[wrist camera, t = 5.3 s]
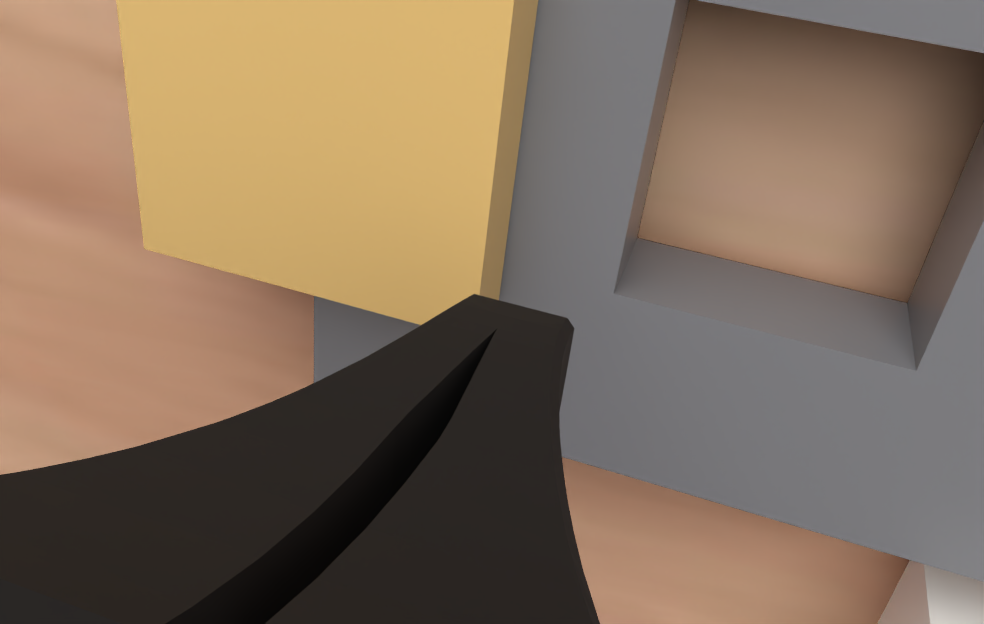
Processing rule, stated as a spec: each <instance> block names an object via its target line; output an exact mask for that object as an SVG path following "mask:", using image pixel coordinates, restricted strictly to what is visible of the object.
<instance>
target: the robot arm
mask: <svg viewBox="0 0 984 624" xmlns="http://www.w3.org/2000/svg"><path fill="white" fill-rule="evenodd" d="M574 329H575V328H574V327H573V325H572V324H571V322H570V321H569V319H568V318H566V317H562V316H558V315H554V314H550V313H547V312H543V311H539V310H535V309H531V308H527V307H523V306H519V305H515V304H512V303H508V302H504V301H500V300H496V299H492V298H488V297H484V296H480V295H477V294H473V295H471V296H469V297H467V298H466V299H464V300H462V301H460V302H459V303H457V304H455V305H454V306H452V307H450V308H448V309H447V310H445V311H443V312H442V313H440V314H438V315H437V316H435V317H434V318H432V319H430V320H429V321H427V322H425V323H424V324H422V325H420V326H419V327H417V328H415V329H414V330H412V331H410V332H409V333H407V334H405V335H404V336H402V337H400V338H398V339H397V340H395V341H393V342H391V343H390V344H388V345H386V346H384V347H383V348H381V349H379V350H377V351H375V352H374V353H372V354H370V355H368V356H367V357H365V358H363V359H361V360H359V361H357V362H355V363H353V364H351V365H349V366H347V367H345V368H343V369H341V370H339V371H337V372H335V373H333V374H331V375H329V376H327V377H325V378H323V379H321V380H319V381H317V382H315V383H313V384H311V385H309V386H307V387H305V388H303V389H301V390H298V391H296V392H294V393H292V394H289V395H287V396H285V397H282V398H280V399H277V400H275V401H273V402H270V403H268V404H265V405H263V406H260V407H257V408H255V409H252V410H249V411H247V412H244V413H242V414H239V415H236V416H234V417H231V418H228V419H225V420H222V421H220V422H217V423H214V424H210V425H207V426H204V427H200V428H197V429H194V430H190V431H187V432H184V433H181V434H177V435H174V436H171V437H167V438H164V439H161V440H157V441H154V442H151V443H147V444H144V445H141V446H137V447H133V448H129V449H125V450H121V451H117V452H112V453H108V454H104V455H100V456H96V457H92V458H87V459H82V460H77V461H73V462H68V463H63V464H58V465H53V466H48V467H44V468H38V469H32V470H27V471H21V472H16V473H10V474H3V475H0V624H600V623H599V620H598V616H597V613H596V610H595V607H594V604H593V600H592V597H591V594H590V591H589V588H588V585H587V581H586V578H585V575H584V572H583V568H582V565H581V560H580V556H579V552H578V548H577V544H576V540H575V535H574V531H573V526H572V521H571V516H570V511H569V506H568V500H567V494H566V487H565V480H564V473H563V463H562V453H561V442H560V417H559V412H560V406H561V401H562V395H563V390H564V384H565V379H566V373H567V368H568V362H569V356H570V351H571V345H572V340H573V334H574Z"/></svg>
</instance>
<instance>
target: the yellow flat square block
mask: <svg viewBox="0 0 984 624" xmlns="http://www.w3.org/2000/svg"><path fill="white" fill-rule="evenodd" d="M116 3H117V12H118V21H119V29H120V38H121V47H122V56H123V65H124V74H125V83H126V92H127V101H128V109H129V118H130V127H131V136H132V145H133V154H134V163H135V172H136V181H137V189H138V198H139V207H140V216H141V225H142V234H143V243H144V249H146V250H150V251H154V252H157V253H161V254H165V255H168V256H172V257H175V258H179V259H183V260H186V261H190V262H194V263H197V264H201V265H205V266H208V267H212V268H215V269H219V270H223V271H226V272H230V273H234V274H237V275H241V276H245V277H248V278H252V279H255V280H259V281H263V282H266V283H270V284H274V285H277V286H281V287H285V288H288V289H292V290H295V291H299V292H303V293H306V294H310V295H314V296H317V297H321V298H325V299H328V300H332V301H335V302H339V303H343V304H346V305H350V306H354V307H357V308H361V309H364V310H368V311H372V312H375V313H379V314H383V315H386V316H390V317H394V318H397V319H401V320H404V321H408V322H412V323H415V324H419V325H422V324H424V323H425V322H427V321H429V320H430V319H432V318H434V317H435V316H437V315H438V314H440V313H442V312H443V311H445V310H447V309H448V308H450V307H452V306H454V305H455V304H457V303H459V302H460V301H462V300H464V299H466V298H467V297H469V296H471V295H473V294H477V295H480V296H484V297H488V298H492V299H496V300H499V295H500V287H501V280H502V272H503V264H504V257H505V249H506V242H507V234H508V226H509V219H510V211H511V204H512V196H513V188H514V181H515V173H516V166H517V158H518V151H519V143H520V135H521V128H522V120H523V113H524V105H525V97H526V90H527V82H528V75H529V67H530V59H531V52H532V44H533V37H534V29H535V21H536V14H537V6H538V0H116Z"/></svg>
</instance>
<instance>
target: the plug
mask: <svg viewBox="0 0 984 624" xmlns="http://www.w3.org/2000/svg"><path fill="white" fill-rule="evenodd" d="M877 624H984V582H982V581H979V580H976V579H972V578H969V577H965V576H962V575H959V574H955V573H952V572H949V571H945V570H942V569H938V568H935V567H932V566H928V565H925V564H922V563H918V562H915V561H912V560H910V561H909V563H908V565H907V567H906V568H905V570H904V572H903V574H902V576H901V578H900V580H899V582H898V584H897V586H896V588H895V590H894V592H893V594H892V596H891V598H890V600H889V602H888V604H887V606H886V608H885V609H884V611H883V613H882V615H881V617H880V619H879V621H878V623H877Z"/></svg>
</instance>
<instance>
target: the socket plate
mask: <svg viewBox="0 0 984 624" xmlns="http://www.w3.org/2000/svg"><path fill="white" fill-rule="evenodd" d="M698 1H704V2H709V3H715V4H720V5H725V6H731V7H736V8H742V9H747V10H752V11H758V12H763V13H769V14H774V15H780V16H785V17H790V18H796V19H801V20H807V21H812V22H817V23H823V24H828V25H834V26H839V27H845V28H850V29H855V30H861V31H866V32H872V33H877V34H882V35H888V36H893V37H899V38H904V39H910V40H915V41H920V42H926V43H931V44H937V45H942V46H947V47H953V48H958V49H964V50H969V51H975V52H980V53H984V0H698ZM688 3H689V0H538V6H537V14H536V21H535V29H534V37H533V44H532V52H531V59H530V67H529V75H528V82H527V90H526V97H525V105H524V113H523V120H522V128H521V135H520V143H519V151H518V158H517V166H516V173H515V181H514V188H513V196H512V204H511V211H510V219H509V226H508V234H507V242H506V249H505V257H504V264H503V272H502V280H501V287H500V295H499V300H500V301H504V302H508V303H512V304H515V305H519V306H523V307H527V308H531V309H535V310H539V311H543V312H547V313H550V314H554V315H558V316H562V317H566V318H568V319H569V321H570V322H571V324H572V325H573V327H574V328H575V329H574V334H573V340H572V345H571V351H570V356H569V362H568V368H567V373H566V379H565V384H564V390H563V395H562V401H561V406H560V412H559V417H560V442H561V453H562V457H564V458H568V459H571V460H575V461H578V462H581V463H585V464H588V465H591V466H595V467H598V468H601V469H605V470H608V471H612V472H615V473H618V474H622V475H625V476H628V477H632V478H635V479H639V480H642V481H645V482H649V483H652V484H655V485H659V486H662V487H666V488H669V489H672V490H676V491H679V492H682V493H686V494H689V495H692V496H696V497H699V498H703V499H706V500H709V501H713V502H716V503H719V504H723V505H726V506H730V507H733V508H736V509H740V510H743V511H746V512H750V513H753V514H756V515H760V516H763V517H767V518H770V519H773V520H777V521H780V522H783V523H787V524H790V525H794V526H797V527H800V528H804V529H807V530H810V531H814V532H817V533H821V534H824V535H827V536H831V537H834V538H837V539H841V540H844V541H847V542H851V543H854V544H858V545H861V546H864V547H868V548H871V549H874V550H878V551H881V552H885V553H888V554H891V555H895V556H898V557H901V558H905V559H908V560H912V561H915V562H918V563H922V564H925V565H928V566H932V567H935V568H938V569H942V570H945V571H949V572H952V573H955V574H959V575H962V576H965V577H969V578H972V579H976V580H979V581H982V582H984V121H983V123H982V126H981V128H980V131H979V133H978V135H977V138H976V140H975V143H974V145H973V147H972V150H971V152H970V154H969V157H968V159H967V162H966V164H965V166H964V169H963V171H962V174H961V176H960V178H959V181H958V183H957V186H956V188H955V190H954V193H953V195H952V197H951V200H950V202H949V205H948V207H947V209H946V212H945V214H944V217H943V219H942V221H941V224H940V226H939V229H938V231H937V233H936V236H935V238H934V241H933V243H932V245H931V248H930V250H929V252H928V255H927V257H926V260H925V262H924V264H923V267H922V269H921V272H920V274H919V276H918V279H917V281H916V284H915V286H914V288H913V291H912V293H911V295H910V298H909V300H908V303H905V302H900V301H896V300H892V299H888V298H884V297H880V296H876V295H871V294H867V293H863V292H859V291H855V290H851V289H847V288H842V287H838V286H834V285H830V284H826V283H822V282H818V281H813V280H809V279H805V278H801V277H797V276H793V275H789V274H784V273H780V272H776V271H772V270H768V269H764V268H760V267H756V266H751V265H747V264H743V263H739V262H735V261H731V260H727V259H722V258H718V257H714V256H710V255H706V254H702V253H698V252H693V251H689V250H685V249H681V248H677V247H673V246H669V245H664V244H660V243H656V242H652V241H648V240H644V239H640V238H637V236H638V232H639V227H640V223H641V218H642V213H643V209H644V204H645V200H646V195H647V191H648V186H649V181H650V177H651V172H652V168H653V163H654V159H655V154H656V149H657V145H658V140H659V136H660V131H661V127H662V122H663V117H664V113H665V108H666V104H667V99H668V95H669V90H670V86H671V81H672V76H673V72H674V67H675V63H676V58H677V54H678V49H679V44H680V40H681V35H682V31H683V26H684V22H685V17H686V12H687V8H688ZM419 326H420V325H419V324H415V323H412V322H408V321H404V320H401V319H397V318H394V317H390V316H386V315H383V314H379V313H375V312H372V311H368V310H364V309H361V308H357V307H354V306H350V305H346V304H343V303H339V302H335V301H332V300H328V299H325V298H321V297H317V296H314V383H315V382H317V381H319V380H321V379H323V378H325V377H327V376H329V375H331V374H333V373H335V372H337V371H339V370H341V369H343V368H345V367H347V366H349V365H351V364H353V363H355V362H357V361H359V360H361V359H363V358H365V357H367V356H368V355H370V354H372V353H374V352H375V351H377V350H379V349H381V348H383V347H384V346H386V345H388V344H390V343H391V342H393V341H395V340H397V339H398V338H400V337H402V336H404V335H405V334H407V333H409V332H410V331H412V330H414V329H415V328H417V327H419Z"/></svg>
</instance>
